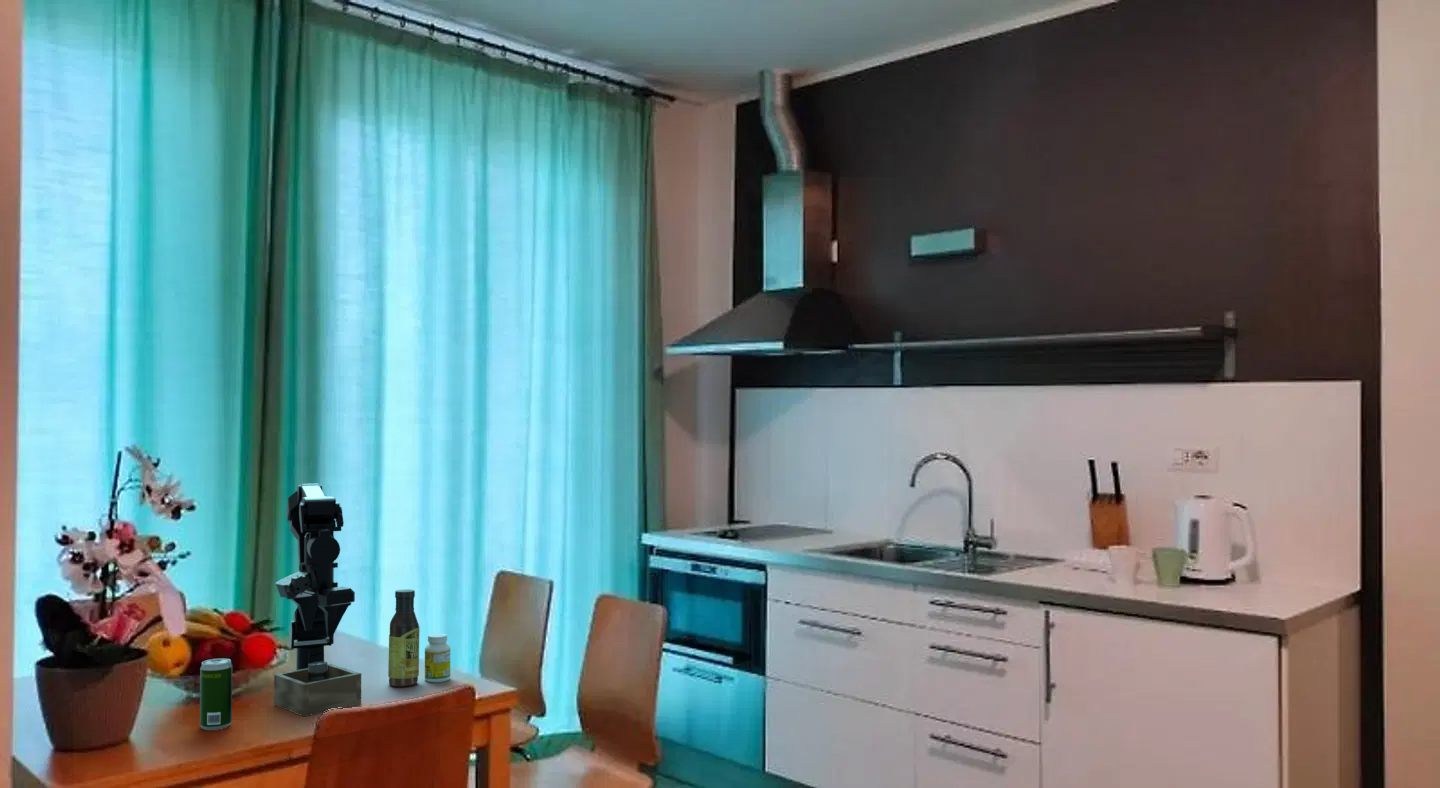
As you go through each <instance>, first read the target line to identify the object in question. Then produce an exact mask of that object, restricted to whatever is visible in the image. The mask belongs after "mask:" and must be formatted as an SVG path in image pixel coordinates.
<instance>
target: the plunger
mask: <svg viewBox="0 0 1440 788" xmlns="http://www.w3.org/2000/svg"><path fill="white" fill-rule="evenodd" d="M328 664H329V663H328V662H327V661H324V662H312V663H309V664H308V680H309V681H314V682H315V681H320V680H325V679H327V678H328Z"/></svg>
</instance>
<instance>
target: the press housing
mask: <svg viewBox="0 0 1440 788" xmlns="http://www.w3.org/2000/svg"><path fill="white" fill-rule="evenodd" d="M273 689H274V690H273V705H274V704H275V705H274V706H276V705H277V706H276V707H278V706H280V707H279V708H281V707H283V708H286V709H288V710H291V711H293V712H296V713H298V714H297V715H299V714H301V715H303V716H302V717H304V716H305V717H307V716H306V715H309V716H312V715H317V714H323V713H325V712H324V711H326V710H328V709H331V708H338V707H345V706H349V707H352V706H357V705H362V673H361V672H358V671H354V670H351V669H348V668H346V667H342V666H339V665H336V664H333V663H328V678H327V679H325V680H320V681H315V682H314V681H309V680H308V668H306V669H301V670H296V669H295V671H293V670H289V671H284V672H282V673H280V672H279V673H277V674H276V673H275V674H274V675H273ZM283 708H282V709H283ZM345 708H346V707H345ZM286 709H285V710H286ZM288 710H287V711H288ZM291 711H290V712H291ZM293 712H292V713H293ZM296 713H295V714H296ZM311 714H312V715H311ZM301 715H300V716H301Z"/></svg>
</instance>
